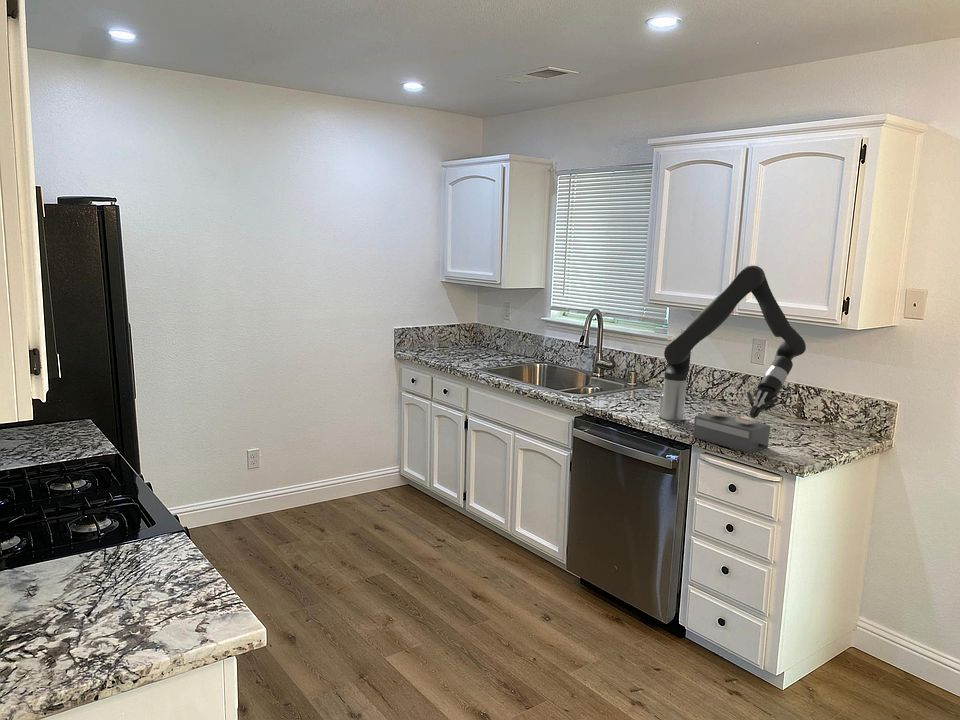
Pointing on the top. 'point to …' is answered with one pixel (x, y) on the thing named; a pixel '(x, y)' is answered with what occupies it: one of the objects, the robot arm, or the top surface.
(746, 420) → the right rocker
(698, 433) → the switch box
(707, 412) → the left rocker
